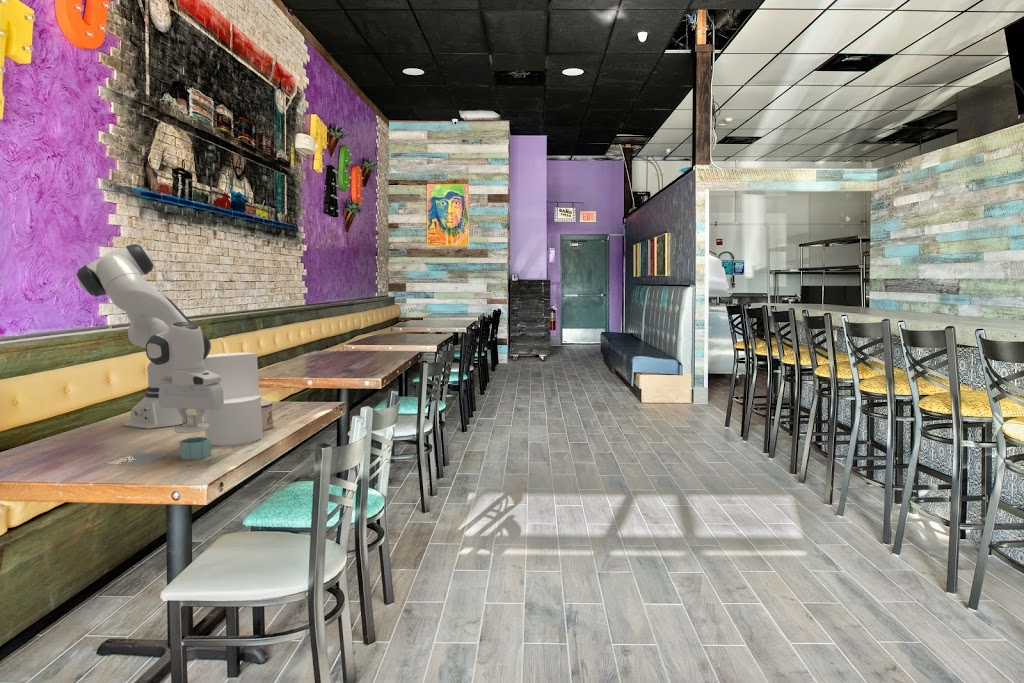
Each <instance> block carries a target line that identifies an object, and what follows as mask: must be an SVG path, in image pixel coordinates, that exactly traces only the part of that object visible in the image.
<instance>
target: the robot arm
mask: <svg viewBox="0 0 1024 683" xmlns="http://www.w3.org/2000/svg"><path fill="white" fill-rule="evenodd" d="M153 269H154V261H153V258H152V255H151V254H150V252H149V251H148V250H147V249H146V248H144V247H142V246H141V245H140V244H137V243H133V244H129V245H128V244H127V245H126V246H125V247H123V248H120V249H116V250H114V251H111V252H108V253H106V254H104V255H102V257H99V258H97V259H95V260H93V261H92V262H90V263H88V264H87V265H86V264H85V265H82V267H80V268H78V270H77V273H76V278H77V281H78V284H79V286H80V288H82V290H83V291H85V292H86V293H87V294H89V295H91V296H94V297H101V296H104V295H107V296H108V297H109V299H110V300H111V302H112V303H113V304H114V305H115V306H116V307H117V308H119V309H121V310H122V311H124V312H125V314H126V315H127V318H128V320H129V323H130V325H129V326H128V329H127V338H128V340H129V342H130V343H131V344H133V345H134V346H138V347H141V348H144V349H145V354H146V357H147V359H148V360H149V361H150V362H149V363H148V365H147V367H146V370H147V384H148V386H147V387H146V388H143V389H142V393H145V395H144V397H143V398H142V399H141V400H140V401H139V402H137V404H135V405H133V407H132V408H131V410H130V419H129V420H126V421H124V422H123V426H126V427H133V428H141V429H156V428H165V427H172V426H173V427H174V426H180V425H184V424H187V416H188V415H189V414H188V409H190V410H195V413H196V414H195V415H196V417H195V418H193V420H194V424H200V423H203V418H202V417H204V412H205V409H207V410H216V409H219V408H221V407H222V406H223V404H224V397H223V389H222V386H221V385H220V384H219V383H218V382H221V376H220V375H218V374H215V373H213V372H210V371H208V370H205V363H204V359H205V358H206V357H207V356H208V355H210V353H211V348H212V343H211V340H210V338H209V337H208V335H207V334H206V333H205V332H204V331H202V328H201V327H200V325H199V324H197V323H195V322H192V321H191V320H190V319H189V318H188V317H187V316H186V314H185V313H184V312H183V311H182V310H181V309H180V308H179V307H178V306H177V305H176V304H175V303H174V302H173V300H172V299H170V298H169V297H167V296H166V295H165V294H163V293H161V292H159V291H158V290H157V289H155V288H154V287H153V286H152V285H151V284H149V282H148V281H147V280H146V279H145V278H144V276H147V275H148V274H149V273H150V272H152V271H153Z"/></svg>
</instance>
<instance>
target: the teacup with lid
mask: <svg viewBox="0 0 1024 683" xmlns="http://www.w3.org/2000/svg"><path fill="white" fill-rule="evenodd" d="M261 412H262V430H263V431H267V430H266V429H268V430H270V429H269V428H271V429H273V426H274V422H273V421H274V420H273V402H272V401H270V400H266V398H261Z"/></svg>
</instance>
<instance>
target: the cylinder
mask: <svg viewBox="0 0 1024 683" xmlns="http://www.w3.org/2000/svg"><path fill="white" fill-rule="evenodd" d="M204 363H205V370H208V371H210V372H213V373H215V374H218V375H220V376H221V382H218V383H219V384H220V385H221V386H222V389H223V397H224V404H223V406H222V407H221V408H219V409H216V410H207V409H205V412H204V414H203V419H204V420H203V421H204V422H203V423H207V424H209V429H207V430H204V435H205V436H204V437H209V438H210V445H211V446H223V447H224V446H235V445H236V446H237V445H241V444H242V445H245V444H244V443H247V444H249V443H248V442H251V443H253V442H252V441H255V440H257V441H259V440H258V439H260V438H261V437H262V436H263V437H264V435H263V434H264V433H263V431H264V430H262V412H261V399H262V395H260V383H259V382H260V381H259V366H258V353H256V352H226V353H225V352H224V353H215V354H208V356H207V357H206V358H205V359H204ZM263 437H262V438H263ZM262 438H261V439H262ZM261 439H260V440H261ZM255 442H256V441H255Z"/></svg>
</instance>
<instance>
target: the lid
mask: <svg viewBox="0 0 1024 683" xmlns="http://www.w3.org/2000/svg"><path fill="white" fill-rule="evenodd" d="M196 415H197V414H188V416H187V423H183V424H179V425H176V427H175V428H174V432H175V433H177V434H193V433H200V432H205V430H207V429H209V424H207V423H204V422H202V423H200V424H194V420H193V418H195V417H196Z"/></svg>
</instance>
